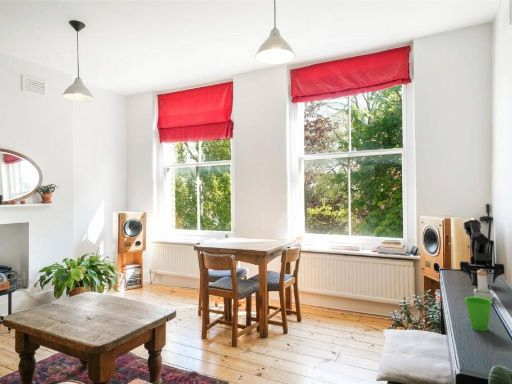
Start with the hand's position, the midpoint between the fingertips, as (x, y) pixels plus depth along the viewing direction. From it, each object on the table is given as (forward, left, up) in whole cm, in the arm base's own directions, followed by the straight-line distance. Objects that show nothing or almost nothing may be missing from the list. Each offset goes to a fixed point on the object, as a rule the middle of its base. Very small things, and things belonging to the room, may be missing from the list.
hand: (482, 282), depth 164 cm
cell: (-1, 0, -8) cm, 8 cm away
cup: (+44, -2, -8) cm, 44 cm away
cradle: (-1, 0, -8) cm, 8 cm away
